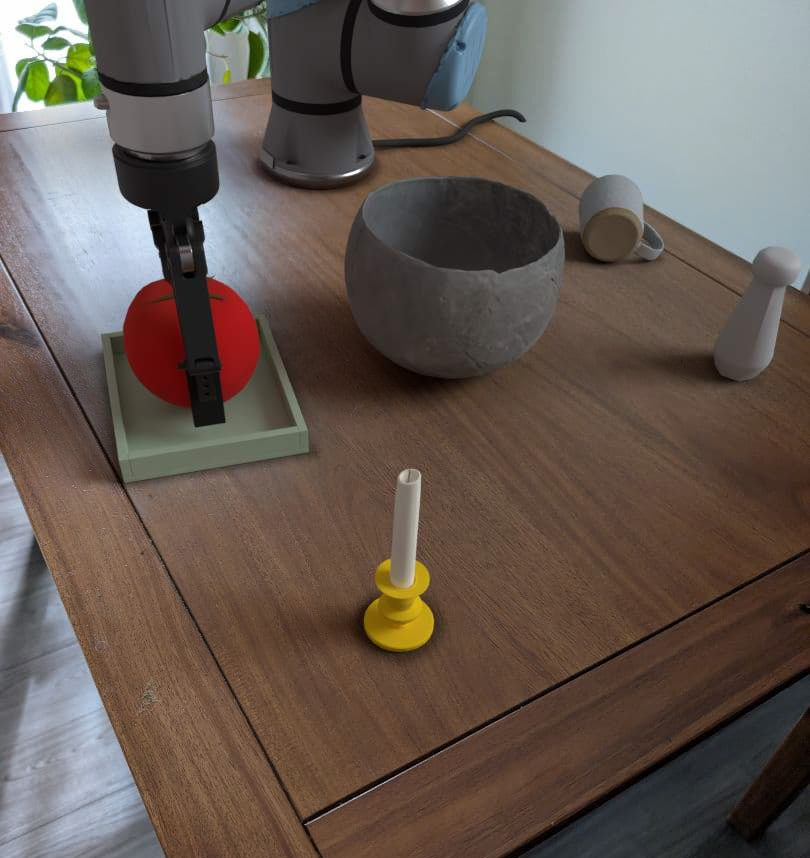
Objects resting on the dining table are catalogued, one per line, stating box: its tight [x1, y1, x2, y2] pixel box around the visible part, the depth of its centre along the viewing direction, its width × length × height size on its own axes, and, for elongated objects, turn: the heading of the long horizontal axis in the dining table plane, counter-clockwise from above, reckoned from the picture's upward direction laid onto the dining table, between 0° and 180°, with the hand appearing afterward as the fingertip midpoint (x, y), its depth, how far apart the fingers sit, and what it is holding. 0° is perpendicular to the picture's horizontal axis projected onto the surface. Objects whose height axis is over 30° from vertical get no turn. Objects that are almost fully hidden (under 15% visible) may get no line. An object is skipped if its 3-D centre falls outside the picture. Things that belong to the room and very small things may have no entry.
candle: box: [363, 468, 435, 653], centre depth 58 cm, size 5×5×16 cm
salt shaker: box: [713, 246, 803, 382], centre depth 84 cm, size 6×6×13 cm
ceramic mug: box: [578, 174, 665, 263], centre depth 102 cm, size 11×8×8 cm
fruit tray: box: [100, 313, 310, 484], centre depth 80 cm, size 16×19×3 cm
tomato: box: [122, 274, 260, 408], centre depth 76 cm, size 12×12×10 cm
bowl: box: [344, 175, 566, 380], centre depth 83 cm, size 20×20×15 cm
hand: (199, 380), depth 79 cm, fingers closed on tomato, 12 cm apart
